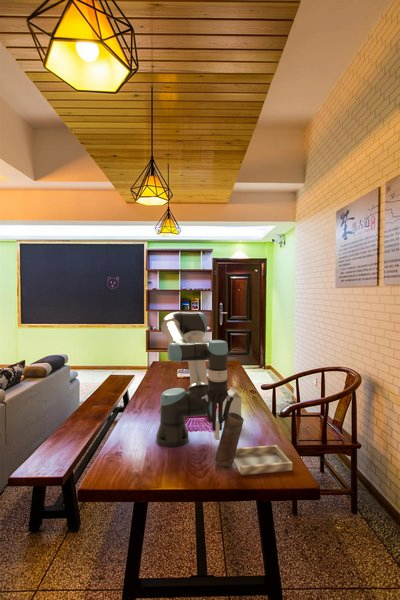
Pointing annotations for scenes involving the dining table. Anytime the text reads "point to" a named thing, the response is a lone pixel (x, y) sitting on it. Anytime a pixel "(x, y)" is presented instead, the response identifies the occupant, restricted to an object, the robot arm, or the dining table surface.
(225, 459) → the candle
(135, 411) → the dining table surface
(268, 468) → the tray
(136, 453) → the dining table surface
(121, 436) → the dining table surface
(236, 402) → the milk carton
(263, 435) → the dining table surface
